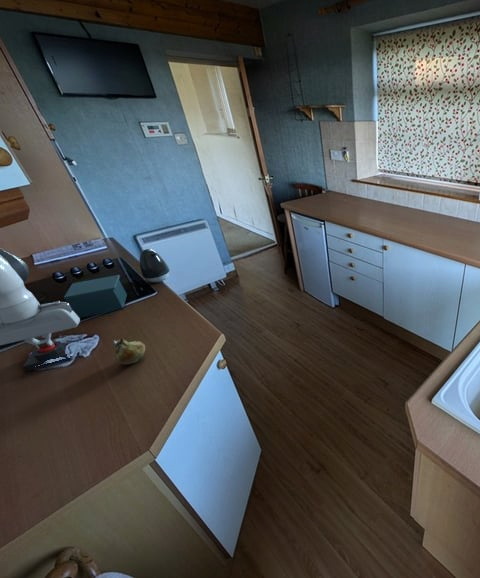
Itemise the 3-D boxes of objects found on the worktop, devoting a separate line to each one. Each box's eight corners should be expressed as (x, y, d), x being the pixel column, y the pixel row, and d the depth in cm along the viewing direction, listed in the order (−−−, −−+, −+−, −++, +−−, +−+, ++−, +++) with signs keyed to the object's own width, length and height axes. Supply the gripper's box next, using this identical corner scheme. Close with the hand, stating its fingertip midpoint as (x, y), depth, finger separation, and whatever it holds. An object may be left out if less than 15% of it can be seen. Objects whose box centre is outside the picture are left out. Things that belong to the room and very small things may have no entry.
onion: (116, 372, 88) (103, 353, 83) (123, 355, 94) (111, 336, 90) (146, 365, 90) (135, 345, 86) (151, 348, 97) (141, 330, 92)
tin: (127, 294, 124) (117, 276, 120) (123, 308, 116) (112, 289, 111) (85, 303, 118) (73, 285, 114) (77, 318, 110) (64, 299, 105)
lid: (120, 276, 120) (119, 274, 120) (115, 289, 112) (114, 287, 111) (73, 284, 114) (72, 283, 113) (64, 299, 105) (63, 297, 105)
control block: (27, 371, 88) (18, 362, 85) (37, 355, 93) (29, 346, 91) (71, 359, 92) (64, 350, 90) (78, 344, 98) (71, 335, 96)
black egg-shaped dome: (157, 287, 130) (142, 256, 122) (140, 282, 133) (125, 252, 125) (177, 276, 138) (165, 247, 130) (162, 273, 141) (149, 243, 133)
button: (38, 356, 89) (35, 351, 88) (42, 349, 92) (39, 344, 91) (54, 352, 91) (51, 347, 90) (58, 345, 93) (55, 340, 92)
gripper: (68, 294, 90) (91, 329, 97) (-30, 314, 81) (4, 351, 88) (62, 304, 85) (87, 340, 92) (-43, 326, 76) (-6, 364, 84)
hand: (46, 346), depth 90 cm, fingers closed, pressing on button
